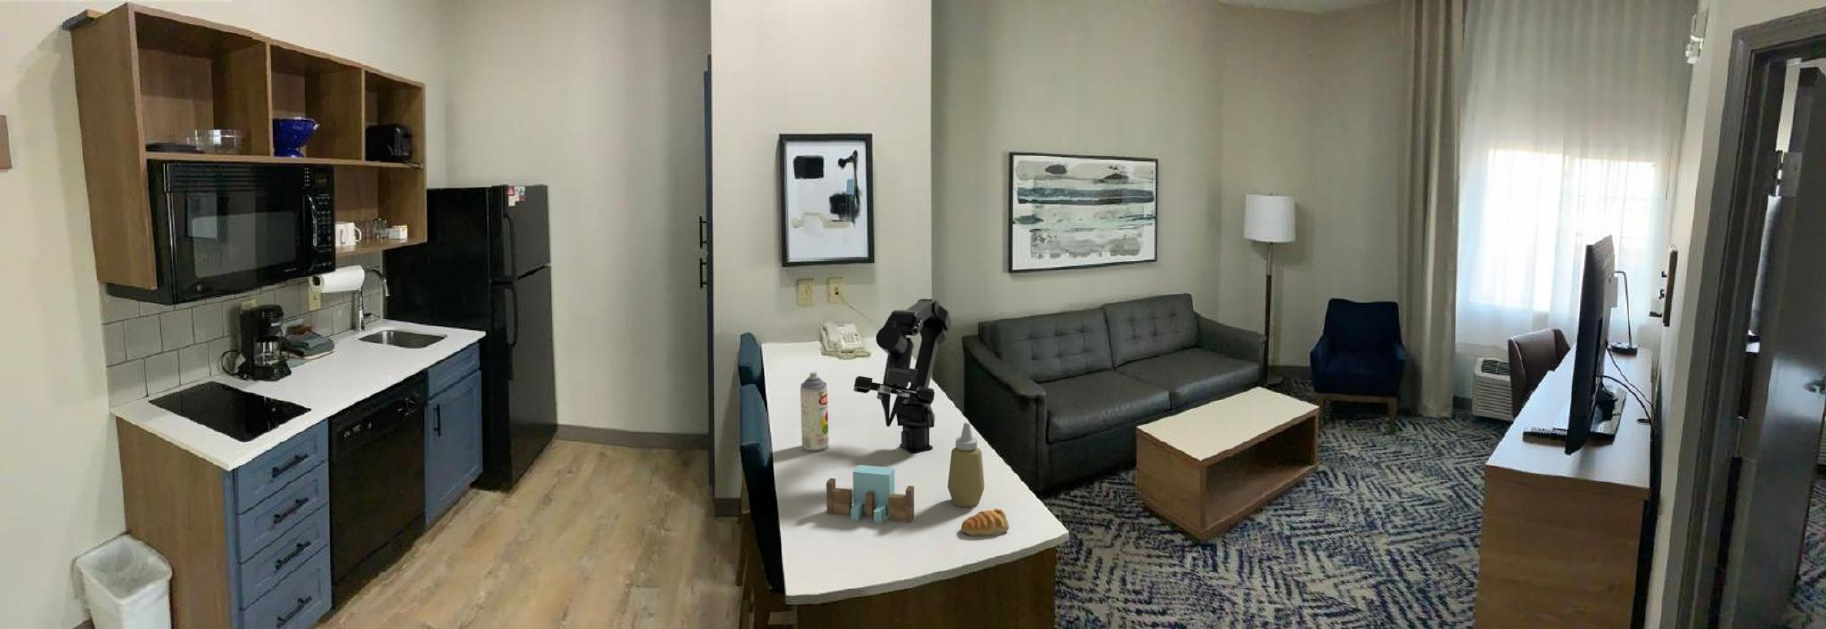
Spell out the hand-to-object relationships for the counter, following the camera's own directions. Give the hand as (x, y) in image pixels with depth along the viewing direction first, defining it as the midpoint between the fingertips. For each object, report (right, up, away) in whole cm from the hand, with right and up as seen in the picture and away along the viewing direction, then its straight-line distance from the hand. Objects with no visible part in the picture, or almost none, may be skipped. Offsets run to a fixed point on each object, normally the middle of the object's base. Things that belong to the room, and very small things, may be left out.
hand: (888, 426), depth 190 cm
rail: (-3, -17, -17) cm, 24 cm away
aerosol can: (-19, -9, +23) cm, 31 cm away
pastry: (+21, -18, -23) cm, 36 cm away
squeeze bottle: (+17, -15, -11) cm, 25 cm away
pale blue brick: (-3, -16, -16) cm, 23 cm away
